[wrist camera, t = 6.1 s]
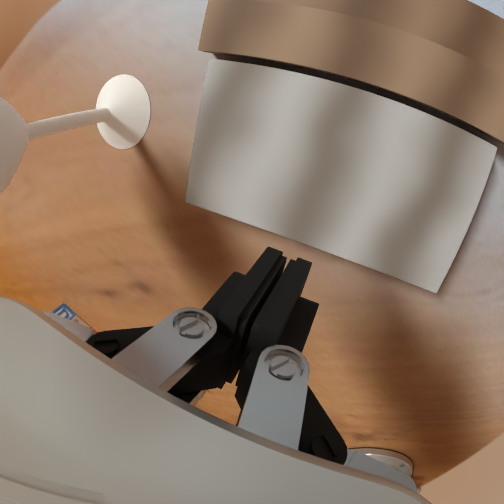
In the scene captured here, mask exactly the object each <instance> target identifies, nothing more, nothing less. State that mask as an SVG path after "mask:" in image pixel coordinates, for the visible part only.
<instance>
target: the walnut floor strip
mask: <svg viewBox="0 0 504 504" xmlns="http://www.w3.org/2000/svg"><path fill="white" fill-rule="evenodd" d="M198 50H199V51H204V52H208V53H213V54H223V55H231V56H239V57H246V58H253V59H259V60H266V61H271V62H277V63H282V64H287V65H292V66H297V67H302V68H306V69H310V70H315V71H319V72H323V73H327V74H331V75H335V76H338V77H342V78H345V79H349V80H352V81H356V82H359V83H362V84H366V85H369V86H372V87H375V88H378V89H381V90H384V91H387V92H390V93H393V94H395V95H398V96H401V97H403V98H406V99H409V100H411V101H414V102H416V103H419V104H421V105H424V106H426V107H429V108H431V109H433V110H436V111H438V112H440V113H443V114H445V115H447V116H449V117H451V118H454V119H456V120H458V121H460V122H462V123H464V124H466V125H468V126H470V127H472V128H474V129H476V130H478V131H480V132H482V133H484V134H486V135H488V136H489V137H491V138H493V139H495V140H497V141H499V142H500V143H503V144H504V19H502V18H501V17H499V16H497V15H495V14H493V13H492V12H490V11H488V10H486V9H484V8H482V7H480V6H478V5H476V4H474V3H472V2H470V1H467V0H209V1H208V5H207V10H206V14H205V19H204V23H203V28H202V33H201V38H200V43H199V48H198Z"/></svg>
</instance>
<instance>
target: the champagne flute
mask: <svg viewBox="0 0 504 504" xmlns="http://www.w3.org/2000/svg"><path fill="white" fill-rule="evenodd" d="M150 110H151V108H150V100H149V97H148V93H147V91H146V89H145V87H144V86H143V85H142V83H141V82H140V81H139V80H138V79H136V78H135V77H133V76H131V75H118V76H115V77H113V78H112V79H110V80H109V81H108V82H107V83H106V84H105V85H104V87H103V88H102V90H101V92H100V94H99V96H98V99H97V104H96V109H94V110H88V111H82V112H77V113H72V114H67V115H62V116H57V117H53V118H48V119H44V120H40V121H36V122H32V123H28V124H26V123H25V121H24V119H23V118H22V116H21V115H20V114H19V113H18V112H17V111H16V110H15V109H14V108H13V107H12V106H11V105H10V103H8V102H7V101H6V100H4V99H3V98H1V97H0V194H1V193H2V192H3V191H4V190H5V189H6V187H7V186H8V185H9V183H10V181H11V180H12V178H13V176H14V175H15V173H16V171H17V169H18V167H19V164H20V162H21V159H22V157H23V155H24V152H25V150H26V147H27V142H28V141H29V140H33V139H36V138H39V137H43V136H46V135H50V134H54V133H58V132H62V131H65V130H69V129H74V128H78V127H82V126H87V125H91V124H96V123H97V125H98V129H99V131H100V133H101V135H102V137H103V138H104V140H105V141H106V142H107V143H108V144H110V145H111V146H113V147H115V148H118V149H128V148H131V147H133V146H135V145H136V144H137V143H138V142H139V141H140V140H141V139H142V138H143V136H144V134H145V133H146V131H147V128H148V125H149V120H150Z"/></svg>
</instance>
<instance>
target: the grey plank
mask: <svg viewBox="0 0 504 504" xmlns="http://www.w3.org/2000/svg"><path fill="white" fill-rule="evenodd" d="M496 151H497V147H496V146H494V145H492V144H490V143H488V142H486V141H485V140H483V139H481V138H479V137H477V136H475V135H473V134H471V133H469V132H467V131H465V130H463V129H461V128H459V127H457V126H454V125H452V124H450V123H448V122H446V121H443V120H441V119H439V118H437V117H434V116H432V115H430V114H427V113H425V112H422V111H420V110H417V109H415V108H412V107H410V106H407V105H405V104H402V103H399V102H397V101H394V100H391V99H388V98H385V97H382V96H380V95H377V94H374V93H370V92H367V91H364V90H361V89H358V88H354V87H351V86H348V85H344V84H341V83H337V82H333V81H330V80H326V79H322V78H318V77H314V76H310V75H305V74H301V73H297V72H292V71H287V70H282V69H277V68H272V67H266V66H261V65H255V64H248V63H241V62H234V61H227V60H218V59H209V63H208V68H207V72H206V77H205V82H204V87H203V92H202V98H201V103H200V108H199V114H198V120H197V125H196V131H195V137H194V143H193V149H192V156H191V162H190V169H189V176H188V183H187V190H186V197H185V202H186V203H189V204H192V205H195V206H198V207H201V208H203V209H206V210H209V211H212V212H215V213H218V214H221V215H224V216H227V217H230V218H233V219H236V220H238V221H241V222H244V223H247V224H250V225H253V226H256V227H259V228H261V229H264V230H267V231H270V232H273V233H276V234H278V235H281V236H284V237H287V238H290V239H292V240H295V241H298V242H301V243H303V244H306V245H309V246H312V247H315V248H317V249H320V250H323V251H325V252H328V253H331V254H334V255H336V256H339V257H342V258H344V259H347V260H350V261H353V262H355V263H358V264H361V265H363V266H366V267H369V268H371V269H374V270H377V271H379V272H382V273H384V274H387V275H390V276H392V277H395V278H398V279H400V280H403V281H405V282H408V283H411V284H413V285H416V286H418V287H421V288H423V289H426V290H428V291H431V292H434V293H437V291H438V289H439V287H440V285H441V284H442V282H443V280H444V278H445V276H446V274H447V272H448V270H449V268H450V266H451V264H452V262H453V260H454V258H455V256H456V254H457V252H458V250H459V247H460V245H461V243H462V241H463V239H464V237H465V234H466V232H467V230H468V227H469V225H470V223H471V220H472V218H473V216H474V213H475V211H476V208H477V206H478V203H479V201H480V198H481V195H482V193H483V190H484V187H485V184H486V182H487V179H488V176H489V173H490V170H491V167H492V164H493V161H494V158H495V154H496Z"/></svg>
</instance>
